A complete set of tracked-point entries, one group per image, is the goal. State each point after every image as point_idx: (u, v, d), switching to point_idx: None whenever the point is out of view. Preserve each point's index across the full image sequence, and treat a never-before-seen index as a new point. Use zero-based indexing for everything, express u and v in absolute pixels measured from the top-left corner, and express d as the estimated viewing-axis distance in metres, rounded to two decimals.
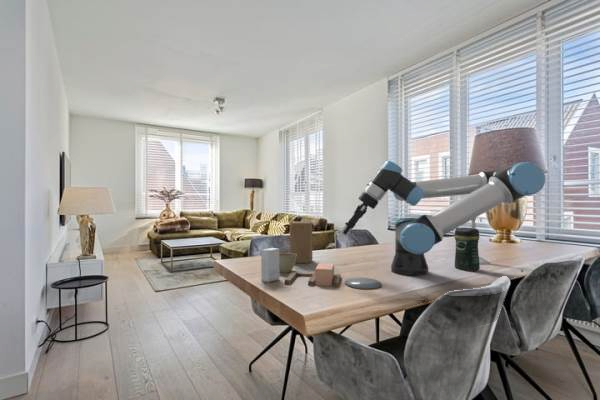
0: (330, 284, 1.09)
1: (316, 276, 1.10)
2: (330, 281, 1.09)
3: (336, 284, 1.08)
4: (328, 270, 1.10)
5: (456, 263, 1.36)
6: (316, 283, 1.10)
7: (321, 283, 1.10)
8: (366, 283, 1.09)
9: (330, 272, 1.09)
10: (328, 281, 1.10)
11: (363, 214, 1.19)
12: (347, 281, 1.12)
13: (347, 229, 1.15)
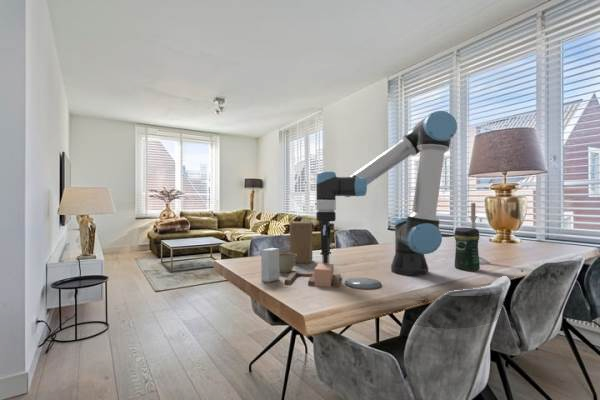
0: (329, 285, 1.08)
1: (315, 276, 1.09)
2: (329, 281, 1.08)
3: (336, 284, 1.08)
4: (327, 270, 1.08)
5: (456, 263, 1.36)
6: (315, 283, 1.09)
7: (320, 283, 1.09)
8: (366, 283, 1.09)
9: (329, 272, 1.08)
10: (327, 281, 1.08)
11: (329, 233, 1.17)
12: (347, 281, 1.12)
13: (325, 257, 1.17)
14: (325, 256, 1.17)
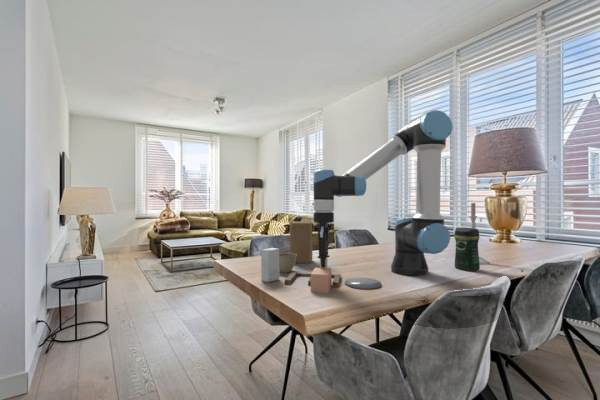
0: (327, 291, 1.01)
1: (311, 282, 1.02)
2: (327, 287, 1.01)
3: (336, 284, 1.08)
4: (324, 275, 1.01)
5: (456, 263, 1.36)
6: (311, 290, 1.02)
7: (317, 290, 1.01)
8: (366, 283, 1.09)
9: (327, 278, 1.01)
10: (324, 287, 1.01)
11: (327, 235, 1.10)
12: (347, 281, 1.12)
13: (323, 261, 1.10)
14: (323, 260, 1.10)
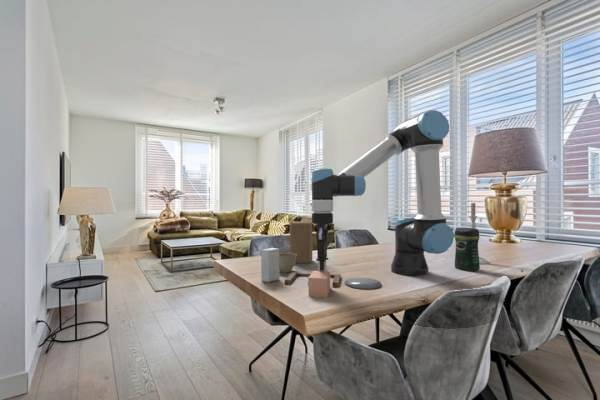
0: (325, 295, 0.96)
1: (309, 286, 0.97)
2: (325, 292, 0.96)
3: (336, 284, 1.08)
4: (323, 279, 0.97)
5: (456, 263, 1.36)
6: (309, 294, 0.97)
7: (315, 294, 0.97)
8: (366, 283, 1.09)
9: (325, 281, 0.96)
10: (322, 291, 0.97)
11: (326, 237, 1.05)
12: (347, 281, 1.12)
13: (321, 264, 1.06)
14: (321, 262, 1.06)
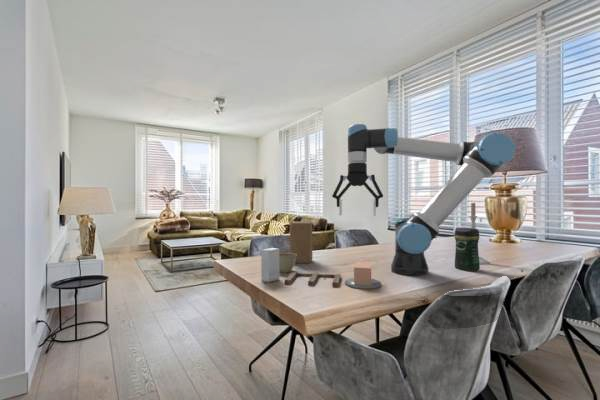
0: (369, 283, 1.07)
1: (355, 275, 1.08)
2: (369, 280, 1.07)
3: (336, 284, 1.08)
4: (367, 269, 1.07)
5: (456, 263, 1.36)
6: (355, 282, 1.08)
7: (360, 282, 1.07)
8: None
9: (369, 271, 1.07)
10: (367, 280, 1.07)
11: (349, 182, 1.22)
12: (347, 281, 1.12)
13: None
14: None
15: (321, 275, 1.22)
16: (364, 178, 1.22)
